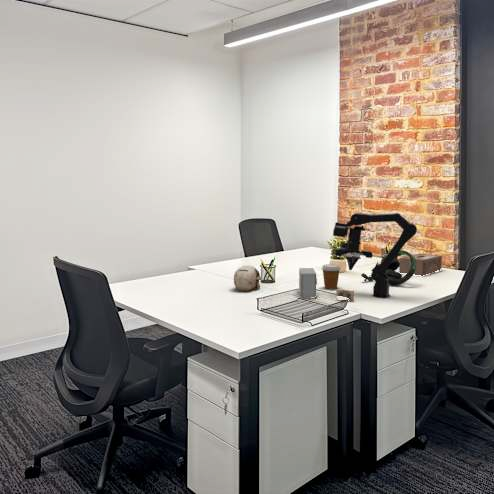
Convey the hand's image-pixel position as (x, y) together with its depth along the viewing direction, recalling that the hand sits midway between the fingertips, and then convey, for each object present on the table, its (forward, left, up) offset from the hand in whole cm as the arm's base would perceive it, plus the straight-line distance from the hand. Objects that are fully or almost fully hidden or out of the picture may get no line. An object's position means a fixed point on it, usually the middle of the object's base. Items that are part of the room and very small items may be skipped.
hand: (350, 270), depth 257 cm
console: (+17, +12, -12) cm, 24 cm away
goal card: (-4, +14, -12) cm, 19 cm away
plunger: (+14, +15, -6) cm, 21 cm away
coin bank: (+50, +18, -12) cm, 54 cm away
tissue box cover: (-7, -81, -13) cm, 82 cm away
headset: (-6, -35, -12) cm, 38 cm away
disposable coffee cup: (+15, -8, -12) cm, 21 cm away
